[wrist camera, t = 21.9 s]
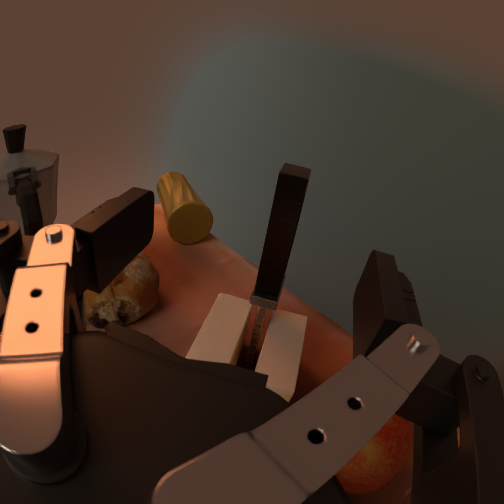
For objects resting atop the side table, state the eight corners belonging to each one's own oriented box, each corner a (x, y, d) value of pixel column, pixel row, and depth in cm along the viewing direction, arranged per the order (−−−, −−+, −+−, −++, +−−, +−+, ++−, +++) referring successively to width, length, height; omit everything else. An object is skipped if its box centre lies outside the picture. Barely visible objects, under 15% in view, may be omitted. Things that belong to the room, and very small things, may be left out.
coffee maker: (-1, 270, 31) (-27, 126, 21) (58, 250, 37) (46, 110, 27) (24, 355, 23) (-34, 160, 13) (101, 322, 29) (83, 133, 19)
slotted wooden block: (277, 425, 23) (294, 391, 20) (183, 397, 24) (184, 358, 21) (292, 355, 30) (307, 316, 27) (214, 333, 31) (219, 291, 28)
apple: (342, 402, 26) (380, 343, 22) (398, 469, 20) (456, 422, 16) (266, 439, 22) (292, 384, 18) (324, 522, 16) (378, 494, 12)
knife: (257, 374, 27) (309, 182, 18) (235, 368, 28) (275, 174, 18) (265, 346, 30) (313, 167, 21) (245, 340, 31) (284, 159, 21)
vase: (159, 235, 41) (147, 194, 52) (199, 250, 44) (178, 208, 55) (181, 195, 39) (165, 163, 50) (221, 213, 43) (196, 177, 54)
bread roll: (167, 317, 36) (180, 250, 35) (125, 349, 26) (138, 260, 25) (97, 293, 37) (106, 229, 36) (44, 312, 27) (51, 233, 26)
